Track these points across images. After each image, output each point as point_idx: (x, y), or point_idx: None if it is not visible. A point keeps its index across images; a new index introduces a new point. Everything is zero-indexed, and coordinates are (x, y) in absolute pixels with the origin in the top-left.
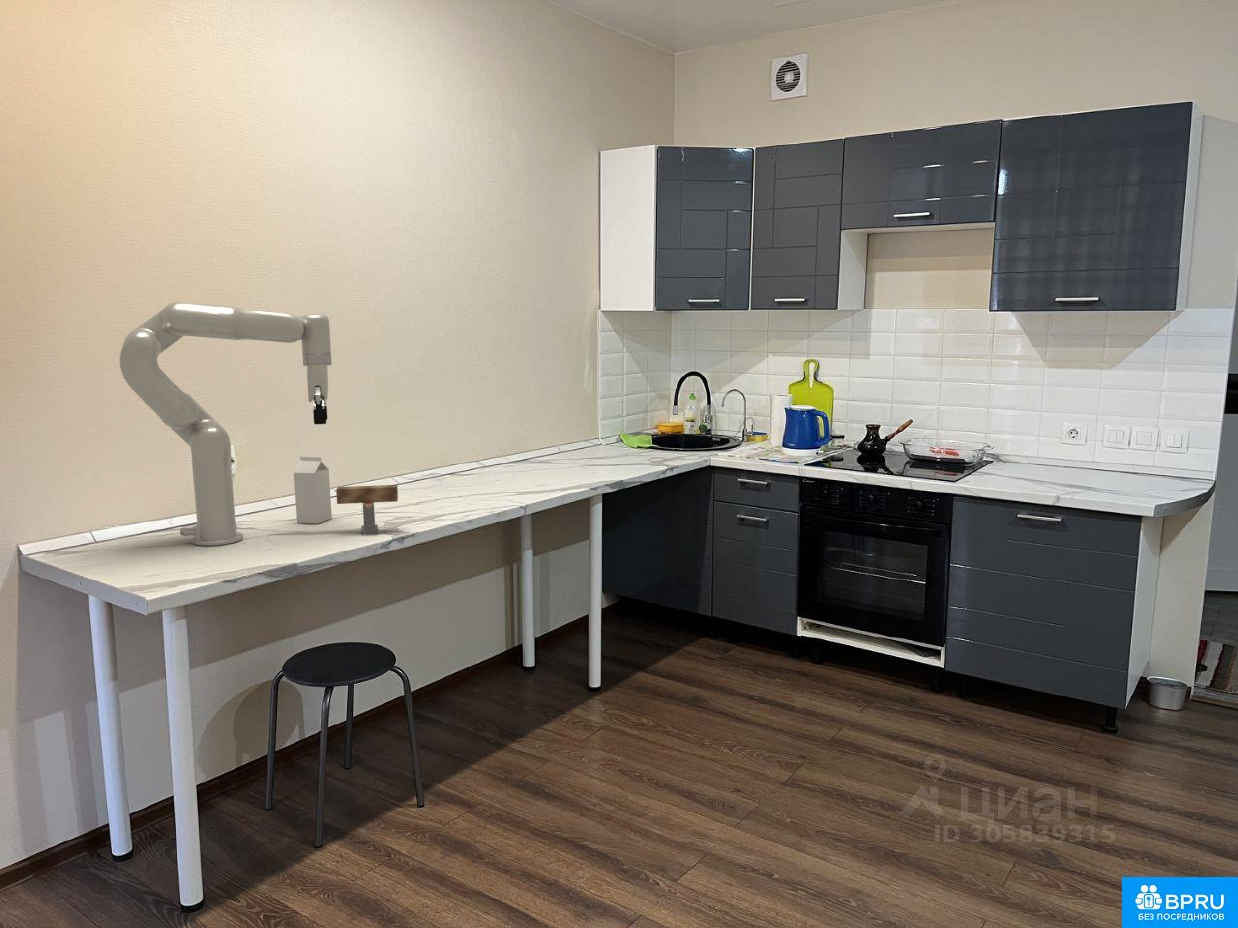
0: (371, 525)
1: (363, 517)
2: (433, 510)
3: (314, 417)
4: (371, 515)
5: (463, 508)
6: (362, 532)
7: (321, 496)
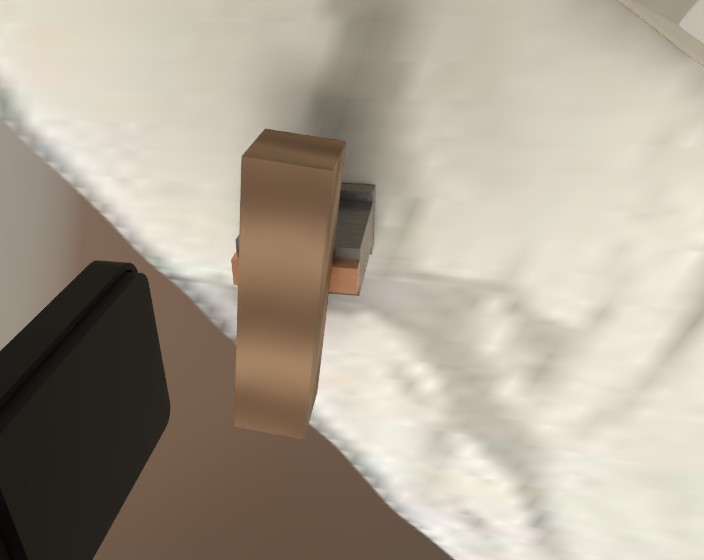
0: None
1: None
2: (630, 459)
3: (35, 336)
4: None
5: (607, 537)
6: None
7: (671, 34)
